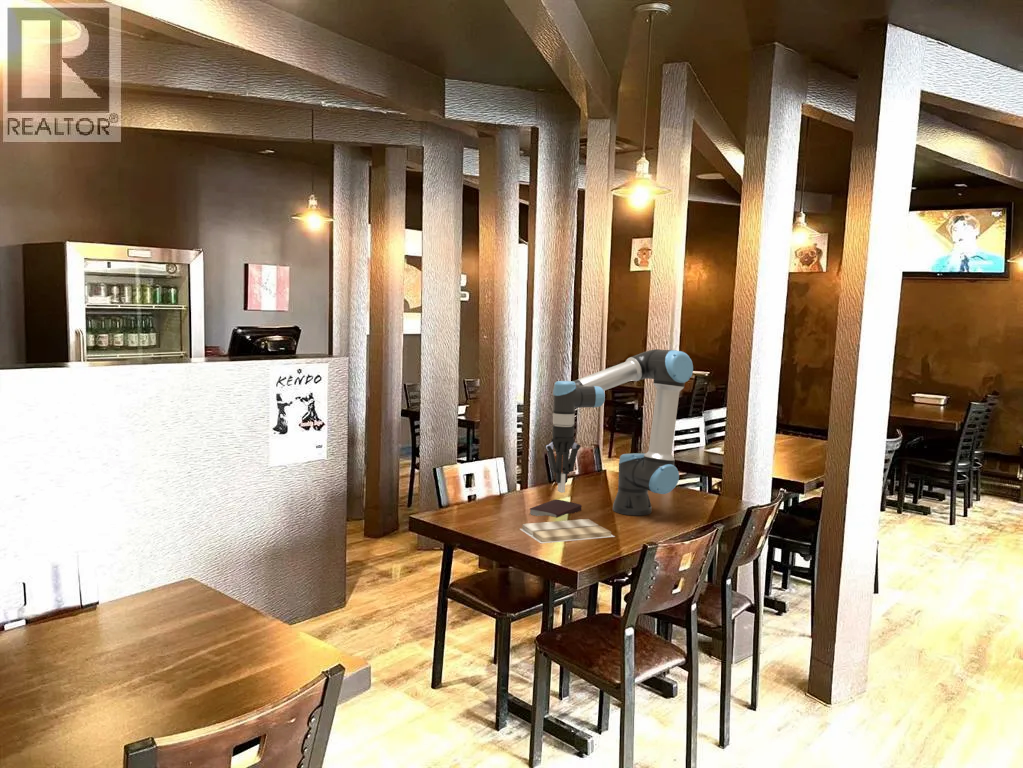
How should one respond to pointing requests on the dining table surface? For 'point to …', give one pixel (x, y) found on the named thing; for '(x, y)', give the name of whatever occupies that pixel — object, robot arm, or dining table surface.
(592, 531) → the laid plank
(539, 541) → the floor board
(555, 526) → the loose plank
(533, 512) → the book
